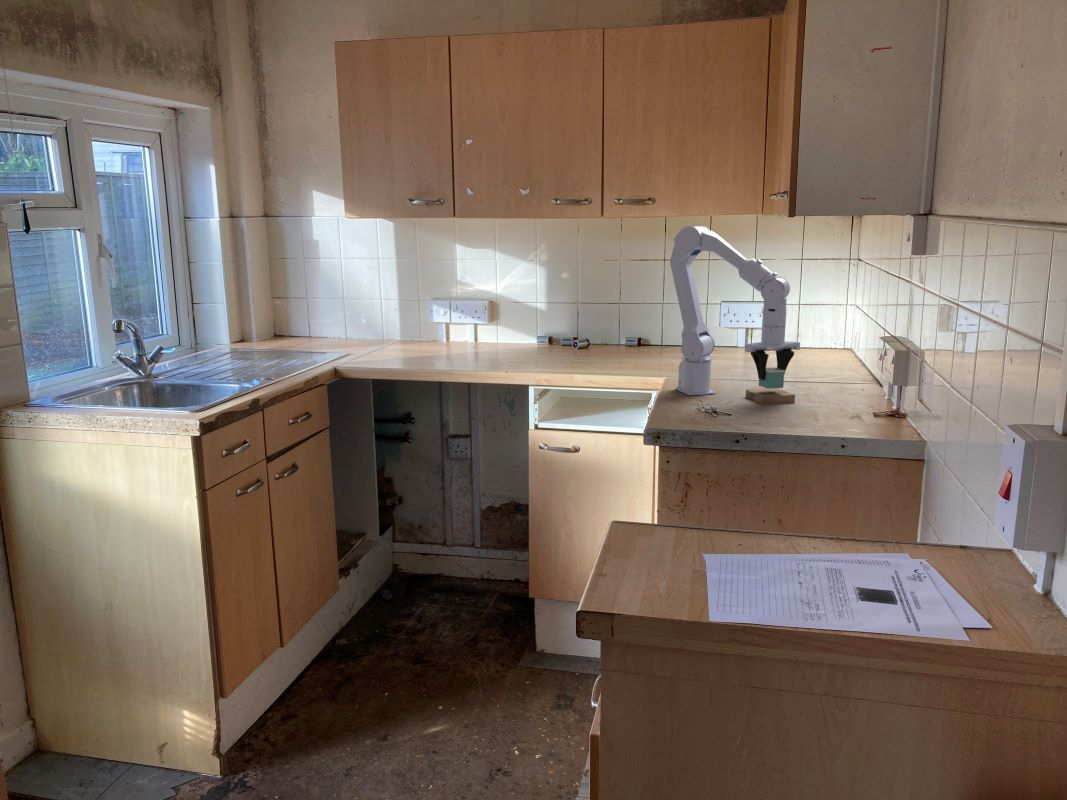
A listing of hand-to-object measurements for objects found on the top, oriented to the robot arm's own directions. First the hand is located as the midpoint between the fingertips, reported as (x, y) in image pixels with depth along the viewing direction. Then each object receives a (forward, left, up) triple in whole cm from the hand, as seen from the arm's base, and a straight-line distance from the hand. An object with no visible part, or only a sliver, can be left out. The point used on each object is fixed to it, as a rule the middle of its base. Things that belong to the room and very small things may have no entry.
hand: (770, 378), depth 213 cm
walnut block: (0, 0, -6) cm, 6 cm away
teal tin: (0, 0, -2) cm, 2 cm away
